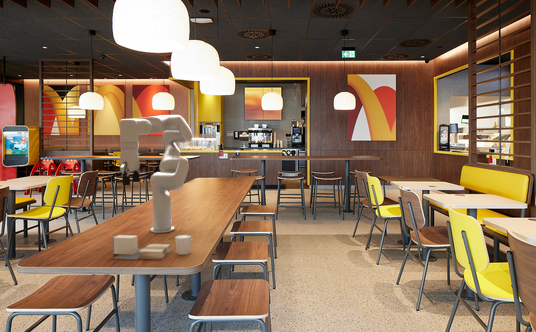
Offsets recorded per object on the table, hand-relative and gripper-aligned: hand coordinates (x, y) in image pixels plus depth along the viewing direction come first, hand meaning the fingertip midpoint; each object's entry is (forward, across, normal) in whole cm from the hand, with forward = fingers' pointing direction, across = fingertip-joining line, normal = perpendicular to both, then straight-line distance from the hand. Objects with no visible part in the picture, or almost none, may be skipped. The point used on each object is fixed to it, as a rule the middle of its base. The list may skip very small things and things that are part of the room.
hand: (131, 183), depth 155 cm
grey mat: (+28, +15, +6) cm, 32 cm away
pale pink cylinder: (+28, +12, +27) cm, 41 cm away
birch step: (+28, +15, +16) cm, 36 cm away
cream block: (+24, +14, +7) cm, 29 cm away
